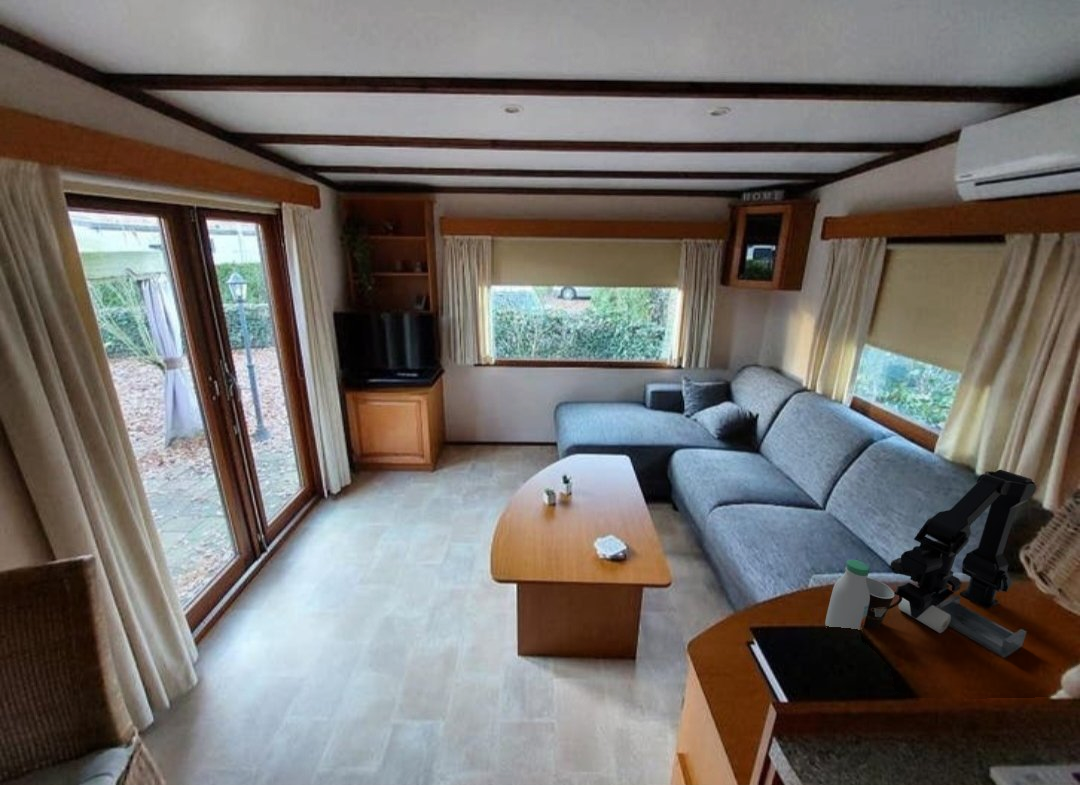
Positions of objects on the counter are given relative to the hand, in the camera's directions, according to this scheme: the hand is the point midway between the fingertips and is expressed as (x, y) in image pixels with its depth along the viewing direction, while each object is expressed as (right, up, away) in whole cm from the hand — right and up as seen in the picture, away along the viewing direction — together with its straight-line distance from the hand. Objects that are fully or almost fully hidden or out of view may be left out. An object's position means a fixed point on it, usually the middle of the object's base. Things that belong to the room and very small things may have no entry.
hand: (920, 613), depth 116 cm
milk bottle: (-25, -2, -5) cm, 25 cm away
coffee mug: (-14, -2, -1) cm, 14 cm away
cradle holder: (+11, -3, -4) cm, 12 cm away
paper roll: (0, -2, 0) cm, 2 cm away
